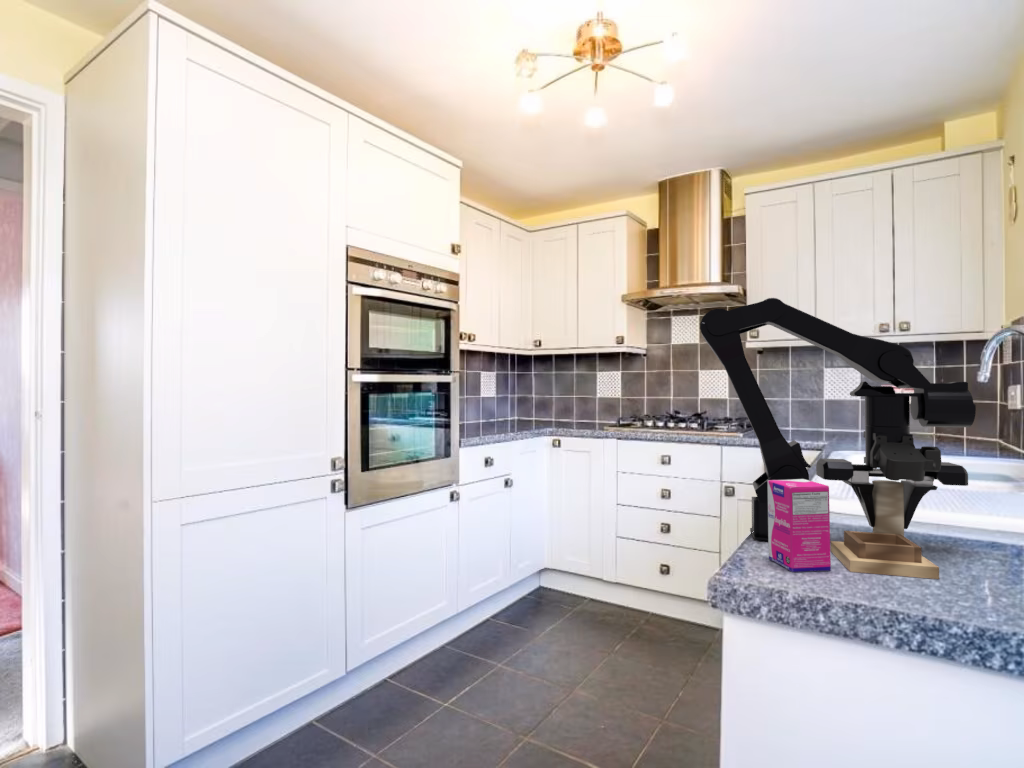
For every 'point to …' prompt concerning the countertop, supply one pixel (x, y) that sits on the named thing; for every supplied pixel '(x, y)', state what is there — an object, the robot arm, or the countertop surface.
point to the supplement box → (799, 525)
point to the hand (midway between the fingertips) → (888, 527)
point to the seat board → (883, 555)
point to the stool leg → (888, 507)
